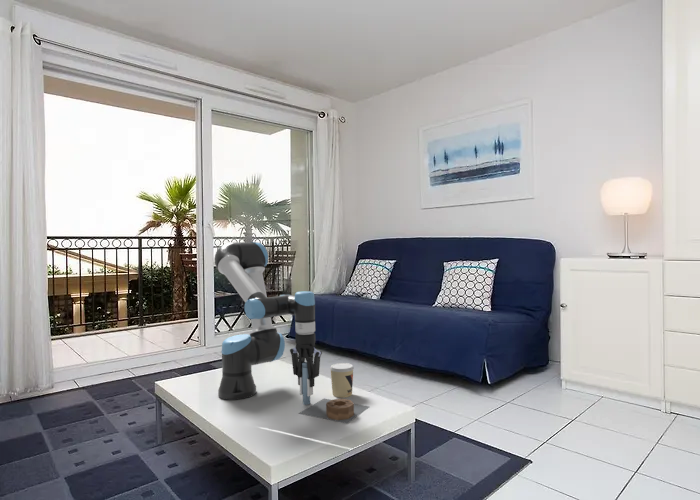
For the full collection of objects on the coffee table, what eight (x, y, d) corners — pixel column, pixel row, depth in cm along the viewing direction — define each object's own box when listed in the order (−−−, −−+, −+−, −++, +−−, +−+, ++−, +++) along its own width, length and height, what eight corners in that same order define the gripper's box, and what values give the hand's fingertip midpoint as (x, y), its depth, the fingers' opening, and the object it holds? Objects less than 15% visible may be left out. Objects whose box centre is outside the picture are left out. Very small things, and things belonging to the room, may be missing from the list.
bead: (322, 416, 153) (322, 405, 153) (335, 408, 161) (335, 397, 161) (344, 421, 148) (344, 409, 148) (357, 412, 156) (357, 401, 156)
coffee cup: (351, 400, 170) (350, 369, 170) (328, 399, 172) (327, 368, 172) (356, 392, 180) (355, 363, 179) (333, 391, 181) (333, 362, 181)
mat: (298, 414, 156) (298, 413, 156) (323, 399, 171) (323, 398, 171) (347, 425, 147) (347, 423, 147) (369, 408, 162) (369, 406, 162)
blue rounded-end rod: (301, 405, 166) (300, 363, 165) (305, 403, 168) (304, 361, 168) (307, 406, 164) (306, 364, 164) (311, 404, 167) (311, 362, 167)
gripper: (282, 332, 166) (283, 394, 167) (317, 336, 159) (318, 400, 159) (294, 329, 173) (295, 388, 173) (328, 332, 165) (329, 394, 166)
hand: (306, 394), depth 166 cm, fingers closed on blue rounded-end rod, 3 cm apart
